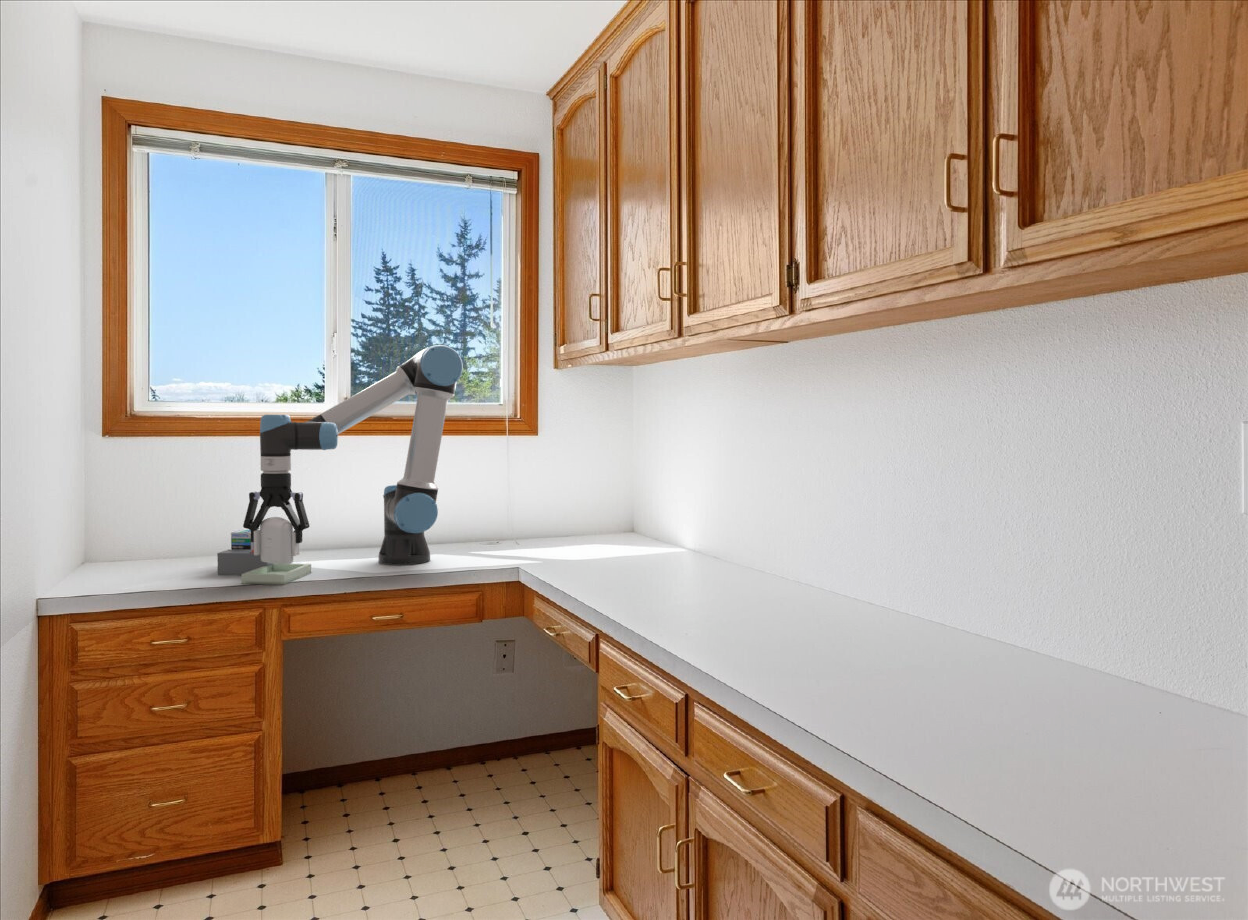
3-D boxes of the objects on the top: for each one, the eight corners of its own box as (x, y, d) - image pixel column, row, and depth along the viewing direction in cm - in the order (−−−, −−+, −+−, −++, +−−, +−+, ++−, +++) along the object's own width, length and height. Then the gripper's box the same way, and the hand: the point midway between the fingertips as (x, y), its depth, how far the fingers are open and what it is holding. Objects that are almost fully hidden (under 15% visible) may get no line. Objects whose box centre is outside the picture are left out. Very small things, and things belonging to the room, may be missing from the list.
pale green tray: (311, 572, 234) (311, 563, 234) (284, 584, 217) (284, 574, 217) (271, 572, 234) (271, 563, 234) (241, 583, 218) (241, 574, 218)
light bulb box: (254, 570, 237) (253, 532, 237) (230, 570, 237) (229, 532, 237) (270, 563, 248) (270, 527, 247) (248, 563, 248) (247, 527, 247)
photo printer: (257, 562, 226) (257, 516, 226) (272, 559, 230) (271, 515, 229) (281, 566, 221) (281, 519, 220) (295, 563, 225) (295, 517, 224)
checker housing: (277, 571, 236) (277, 550, 235) (267, 575, 230) (267, 553, 229) (229, 570, 236) (228, 549, 236) (217, 574, 230) (217, 552, 230)
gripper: (227, 472, 221) (228, 556, 222) (310, 473, 220) (311, 557, 221) (242, 470, 229) (243, 551, 230) (322, 471, 227) (323, 553, 229)
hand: (276, 554), depth 225 cm, fingers closed on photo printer, 10 cm apart
